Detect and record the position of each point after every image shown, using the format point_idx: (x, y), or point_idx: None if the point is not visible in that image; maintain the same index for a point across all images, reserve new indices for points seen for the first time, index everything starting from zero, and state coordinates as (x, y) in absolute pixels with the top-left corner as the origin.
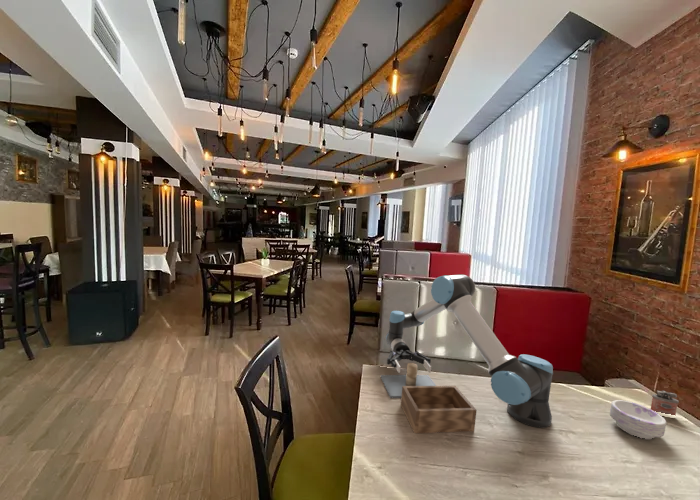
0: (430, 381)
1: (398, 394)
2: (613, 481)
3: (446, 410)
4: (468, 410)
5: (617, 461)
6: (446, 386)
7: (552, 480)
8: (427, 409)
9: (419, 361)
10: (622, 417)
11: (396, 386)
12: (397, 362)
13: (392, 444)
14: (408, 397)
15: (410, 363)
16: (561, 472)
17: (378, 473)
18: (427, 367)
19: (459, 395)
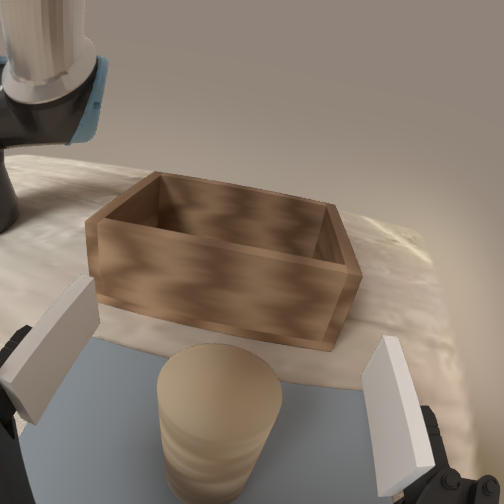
0: (31, 453)
1: (331, 398)
2: (66, 164)
3: (244, 186)
4: (178, 175)
5: (18, 170)
6: (131, 227)
7: (135, 175)
8: (300, 199)
9: (24, 481)
10: None
11: (322, 471)
12: (408, 405)
13: (374, 258)
14: (346, 236)
15: (222, 427)
16: (106, 176)
17: (395, 236)
18: (76, 328)
19: (127, 205)
